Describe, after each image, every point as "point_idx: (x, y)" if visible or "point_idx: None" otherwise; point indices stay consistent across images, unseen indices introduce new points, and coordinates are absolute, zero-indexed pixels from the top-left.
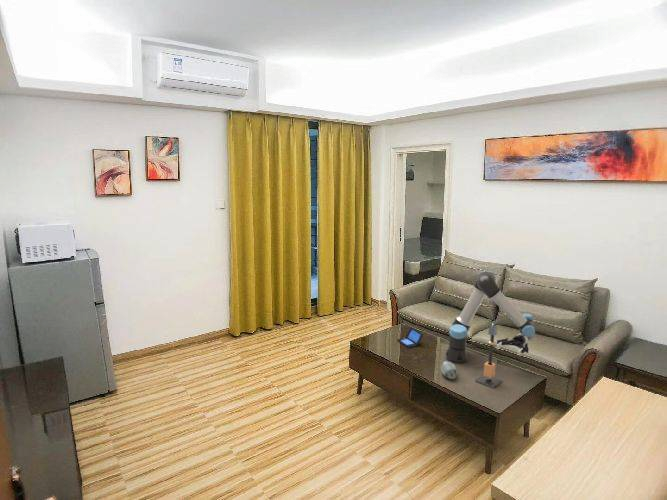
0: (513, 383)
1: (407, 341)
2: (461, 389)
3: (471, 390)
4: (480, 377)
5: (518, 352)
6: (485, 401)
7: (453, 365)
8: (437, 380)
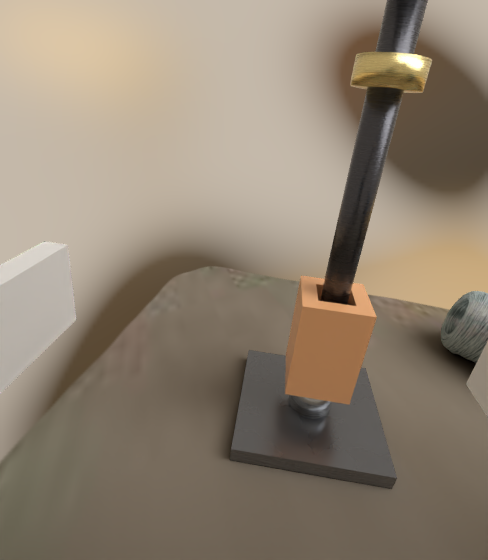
0: (133, 477)
1: None
2: None
3: None
4: (363, 402)
5: (61, 268)
6: (242, 283)
7: None
8: None
